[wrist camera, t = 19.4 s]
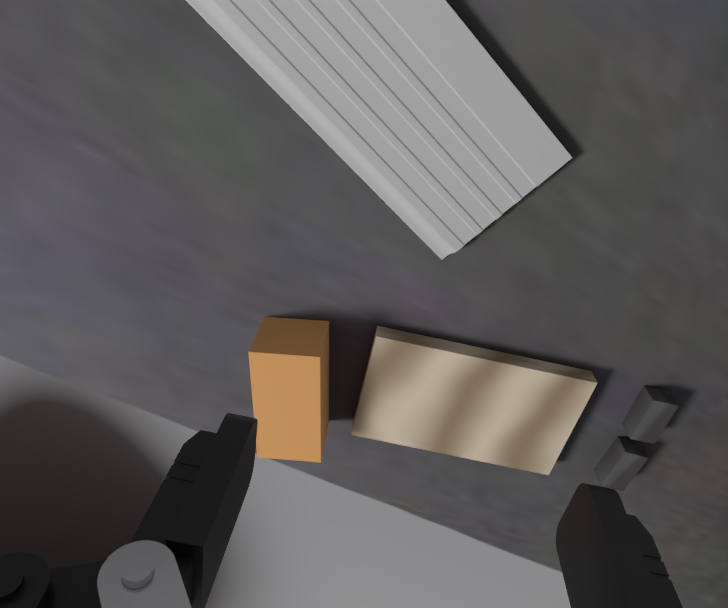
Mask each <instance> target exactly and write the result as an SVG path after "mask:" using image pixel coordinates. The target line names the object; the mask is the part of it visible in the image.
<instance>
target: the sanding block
mask: <svg viewBox="0 0 728 608" xmlns="http://www.w3.org/2000/svg"><path fill="white" fill-rule="evenodd" d="M249 363H250V375H251V387H252V399H253V410H254V418H256V419H257V420H258V425H257V437H256V446H257V457H260V458H272V459H285V460H297V461H309V462H321V459H322V454H323V448H324V443H325V438H326V433H327V428H328V422H329V321H321V320H306V319H292V318H277V317H264V319H263V322H262V324H261V326H260V328H259V330H258V332H257V335H256V337H255V339H254V341H253V343H252V345H251V348H250V350H249Z"/></svg>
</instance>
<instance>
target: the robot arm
mask: <svg viewBox="0 0 728 608" xmlns="http://www.w3.org/2000/svg"><path fill="white" fill-rule="evenodd" d="M257 425H258V420H257V419H256V418H251V417H246V416H241V415H236V414H231V413H227V414H226V416H225V417H224V419H223V421H222V424H221V426H220V428H219V430H218V432H217V433H213V432H208V431H202V430H200V431H199V432H198V433H197V434H195V435H194V436H193V437H192V438H191V439H189V440H188V441H187V442H186V443H185V444H184V445H183V446H182V448H181V450H180V452H179V454H178V455H177V458H176V459H175V461H174V464H173V465H172V466H171V469H170V470H169V472H168V474H167V476H166V479H165V480H164V481H163V483H162V485H161V487H160V489H159V491H158V492H157V494H156V496H155V498H154V500H153V501H152V503H151V505H150V507H149V509H148V510H147V512H146V514H145V516H144V518H143V520H142V521H141V523H140V525H139V527H138V529H137V531H136V532H135V534H134V536H133V537H132V539H131V540H130V541H129V542H128V543H127V544H126V545H124V546H123V547H121V548H119V549H117V550H116V551H115V552H114V553H112V554H111V555H110V556H109V557H108V558H106V559H103V560H101V561H97V562H94V563H89V564H83V565H74V566H66V567H57V568H49V566H48V565H47V563H46V562H45V560H44V559H43V558H41V557H40V556H38V555H36V554H33V553H28V552H17V553H10V554H6V555H3V556H0V608H205V605H206V603H207V600H208V597H209V594H210V592H211V589H212V586H213V584H214V581H215V578H216V575H217V573H218V570H219V567H220V564H221V562H222V559H223V556H224V553H225V551H226V548H227V545H228V542H229V539H230V537H231V534H232V531H233V529H234V526H235V523H236V520H237V517H238V515H239V512H240V509H241V506H242V503H243V501H244V498H245V495H246V493H247V490H248V487H249V484H250V480H251V476H252V472H253V467H254V459H255V448H256V437H257ZM556 547H557V552H558V556H559V560H560V565H561V569H562V573H563V577H564V580H565V585H566V589H567V593H568V597H569V601H570V605H571V608H683V607H682V605H681V603H680V600H679V598H678V596H677V593H676V591H675V589H674V586H673V584H672V582H671V580H669V579H668V576H669V575H668V572H667V570H666V568H665V565H664V563H663V562H661V556H660V554H659V552H658V549H657V547H656V545H655V542H654V540H653V538H652V536H651V535H650V533H649V532H648V531H647V530H646V528H645V527H644V526H643V525H642V524H641V522H640V521H639V520H638V519H637V517H636V516H633V515H628V514H626V511H625V509H624V506H623V504H622V501H621V499H620V496H619V494H618V493H617V491H616V490H614V489H610V488H605V487H600V486H595V485H590V484H584V483H582V484H580V485H579V486H578V488H577V490H576V491H575V493H574V495H573V497H572V499H571V501H570V503H569V505H568V507H567V508H566V510H565V512H564V514H563V516H562V518H561V520H560V522H559V524H558V527H557V533H556Z"/></svg>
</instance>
